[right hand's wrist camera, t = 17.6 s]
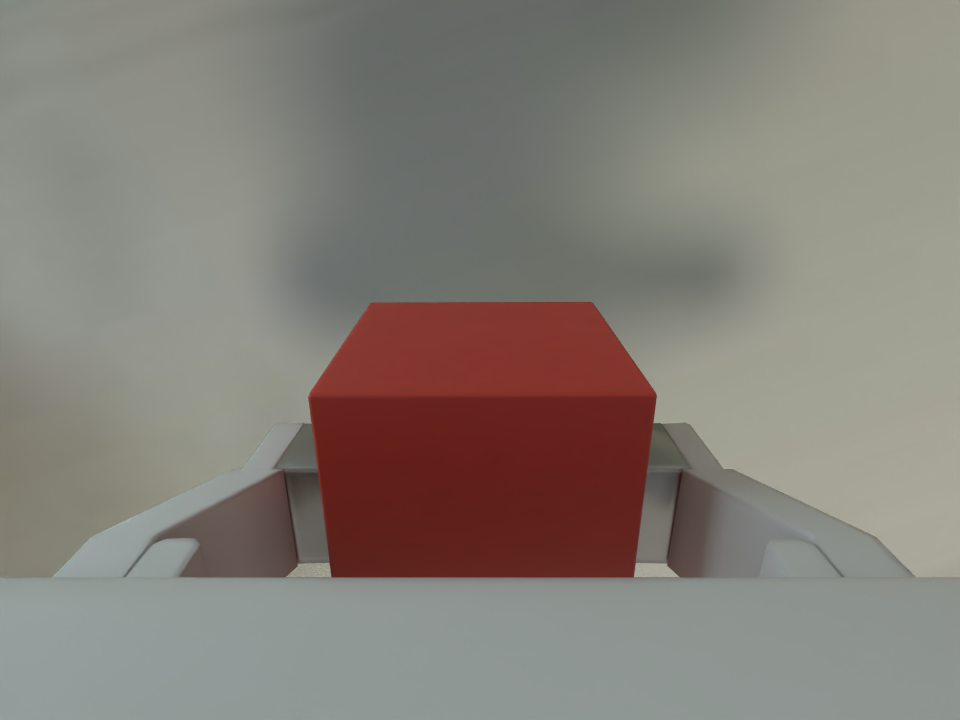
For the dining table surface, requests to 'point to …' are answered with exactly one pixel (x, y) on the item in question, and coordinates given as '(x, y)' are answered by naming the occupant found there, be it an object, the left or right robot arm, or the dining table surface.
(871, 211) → the dining table surface
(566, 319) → the brick
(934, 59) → the dining table surface
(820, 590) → the right robot arm
